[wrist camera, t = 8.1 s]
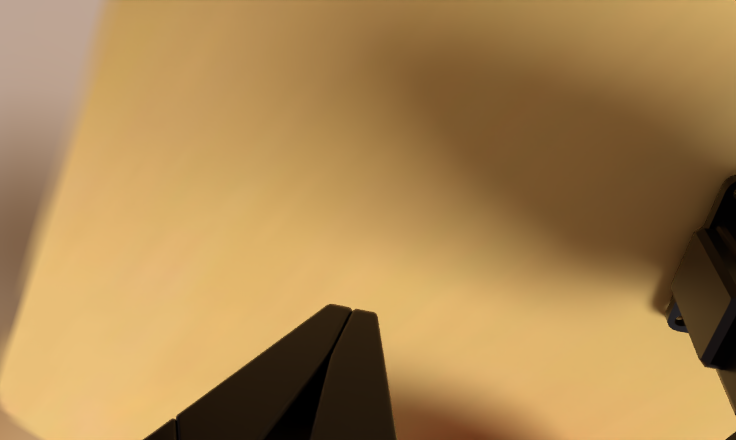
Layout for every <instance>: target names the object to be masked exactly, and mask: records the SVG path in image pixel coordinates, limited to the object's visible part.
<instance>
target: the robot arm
mask: <svg viewBox="0 0 736 440" xmlns="http://www.w3.org/2000/svg"><path fill="white" fill-rule="evenodd" d="M735 190H736V175H734V176H731V177H730V178H728V179H727V180H726V181H725V182H724V183H723V185H722V187H721V189H720V191H719V193H718V196H717V198H716V200H715V202H714V205H713V207H712V209H711V211H710V214H709V216H708V218H707V220H706V223H705V225H704V227H702V228H700V229H699V230H697V231H696V232H694V234H693V236H692V238H691V241H690V243H689V245H688V248H687V250H686V252H685V254H684V257H683V259H682V261H681V264H680V266H679V268H678V270H677V273H676V275H675V277H674V280H673V282H672V284H671V290H672V292H673V297H672V299H671V301H670V303H669V306H668V308H667V310H666V313H665V317H666V320H667V323H668V325H669V327H670V328H672V329H673V330H676V331H680V332H685V333H689V335H690V338H691V340H692V343H693V345H694V348H695V350H696V353H697V355H698V358H699V359H700V361H701V362H702V364H703V365H704V366H705V367H707V368H712V369H716V371H717V373H718V375H719V378H720V380H721V382H722V385H723V387H724V390H725V392H726V394H727V397H728V399H729V401H730V404H731V406H732V408H733V411H734V413H735V415H736V195H735V194H734V191H735ZM679 316H682V318H683V319H681V320H677V319H676V318H677V317H679ZM143 440H397V435H396V429H395V422H394V416H393V410H392V404H391V397H390V391H389V385H388V379H387V372H386V366H385V360H384V354H383V348H382V341H381V335H380V329H379V323H378V317H377V314H376V313H374V312H370V311H365V310H360V309H355V310H353V311H352V309H351V308H349V307H345V306H340V305H335V304H329V305H327V306H325V307H324V308H322V309H321V310H320V311H318V312H317V313H316V314H314V315H313V316H312V317H310V318H309V319H307V320H306V321H305V322H303V323H302V324H301V325H299V326H298V327H297V328H295V329H294V330H292V331H291V332H290V333H288V334H287V335H286V336H284V337H283V338H282V339H280V340H279V341H277V342H276V343H275V344H273V345H272V346H271V347H269V348H268V349H267V350H265V351H264V352H262V353H261V354H260V355H258V356H257V357H256V358H254V359H253V360H252V361H250V362H249V363H247V364H246V365H245V366H243V367H242V368H241V369H239V370H238V371H237V372H235V373H234V374H232V375H231V376H230V377H228V378H227V379H226V380H224V381H223V382H222V383H220V384H219V385H217V386H216V387H215V388H213V389H212V390H211V391H209V392H208V393H207V394H205V395H204V396H202V397H201V398H200V399H198V400H197V401H196V402H194V403H193V404H192V405H190V406H189V407H187V408H186V409H185V410H183V411H182V412H181V413H179V414H178V415H177V416H176V420H175V419H171V420H169V421H168V422H167V423H165V424H164V425H163V426H161V427H160V428H159V429H157V430H156V431H154V432H153V433H152V434H150V435H149V436H147V437H146V438H144V439H143ZM726 440H736V432H735V433H733V434H732V435H731V436H730V437H728V438H727V439H726Z"/></svg>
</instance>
